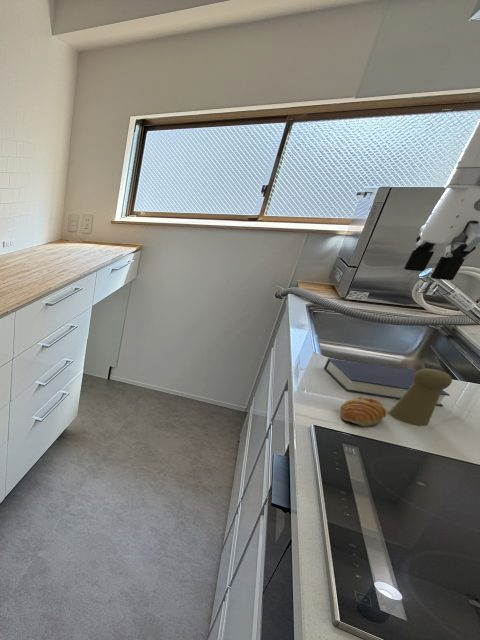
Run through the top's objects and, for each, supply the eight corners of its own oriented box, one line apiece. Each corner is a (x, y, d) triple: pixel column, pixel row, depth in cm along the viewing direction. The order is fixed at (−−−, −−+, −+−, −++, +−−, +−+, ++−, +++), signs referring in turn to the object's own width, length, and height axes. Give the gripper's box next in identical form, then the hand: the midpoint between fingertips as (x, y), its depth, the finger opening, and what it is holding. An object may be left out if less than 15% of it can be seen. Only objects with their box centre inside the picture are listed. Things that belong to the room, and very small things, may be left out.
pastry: (372, 433, 81) (381, 416, 79) (330, 418, 86) (338, 402, 84) (384, 419, 86) (393, 403, 84) (343, 406, 91) (351, 390, 89)
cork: (382, 413, 89) (409, 366, 84) (399, 408, 91) (426, 363, 86) (418, 427, 84) (448, 379, 79) (434, 423, 86) (465, 375, 81)
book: (407, 381, 105) (413, 370, 103) (442, 406, 93) (450, 394, 91) (323, 368, 110) (328, 358, 109) (346, 390, 98) (352, 379, 97)
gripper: (543, 181, 67) (479, 285, 75) (473, 181, 82) (425, 269, 89) (482, 178, 69) (427, 280, 77) (425, 179, 84) (383, 265, 92)
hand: (426, 274), depth 83 cm, fingers open, 9 cm apart
